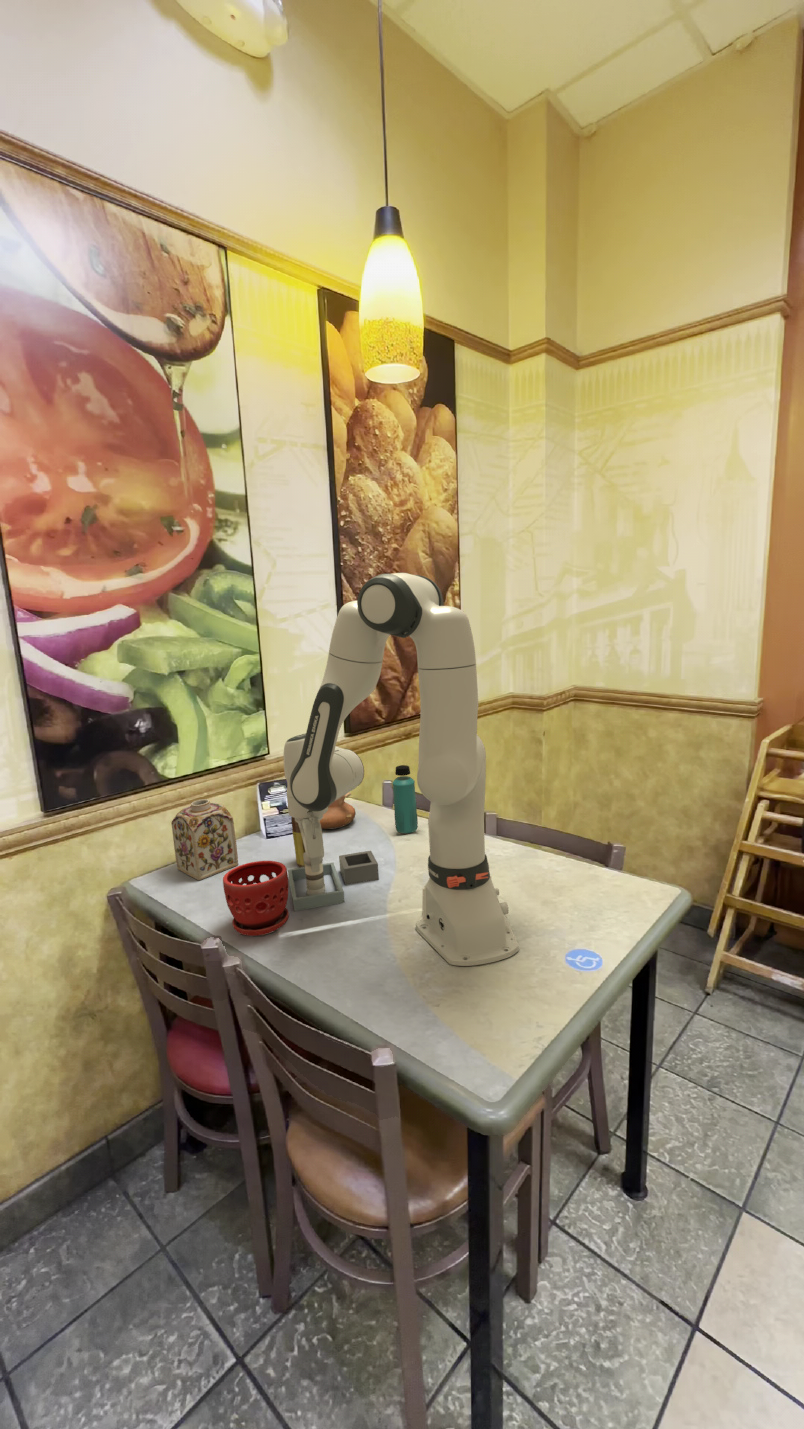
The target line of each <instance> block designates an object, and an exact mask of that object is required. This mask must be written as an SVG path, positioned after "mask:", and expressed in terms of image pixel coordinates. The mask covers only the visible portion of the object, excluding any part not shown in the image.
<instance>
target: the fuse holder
mask: <svg viewBox="0 0 804 1429" xmlns="http://www.w3.org/2000/svg"><path fill="white" fill-rule="evenodd" d="M338 858H339V859H338V861H339V871H340V874H341V877H342V880H343V883H344V884H345V885H344V886H348V885H349V886H350V885H354V884H361V883H368V882H372V881H379V880H380V877H379V862H378V861H377V859H376V858H375V856H374V854H373V852H372V850H367V851H366V850H365V851H361V852H360V851H359V852H353V853H348V854H346V853H345V854H342V855H341V854H339V855H338Z"/></svg>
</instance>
